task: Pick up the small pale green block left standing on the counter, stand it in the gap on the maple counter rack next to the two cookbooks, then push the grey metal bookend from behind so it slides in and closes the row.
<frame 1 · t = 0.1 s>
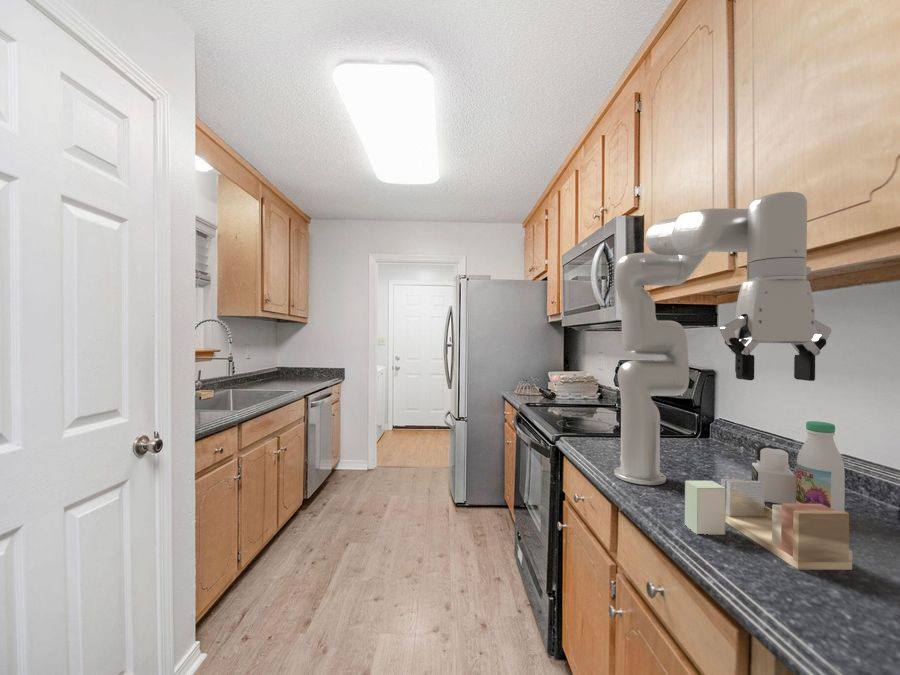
hand: (774, 379, 66), 31 cm above the counter, tool pointing down, fingers open, 9 cm apart
rack: (767, 534, 80), on the counter
bookend: (738, 494, 87), point 5 cm above the counter, slide at 0.0 cm
pale green block: (704, 529, 81), on the counter
milk bottle: (819, 517, 88), on the counter
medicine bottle: (772, 499, 98), on the counter
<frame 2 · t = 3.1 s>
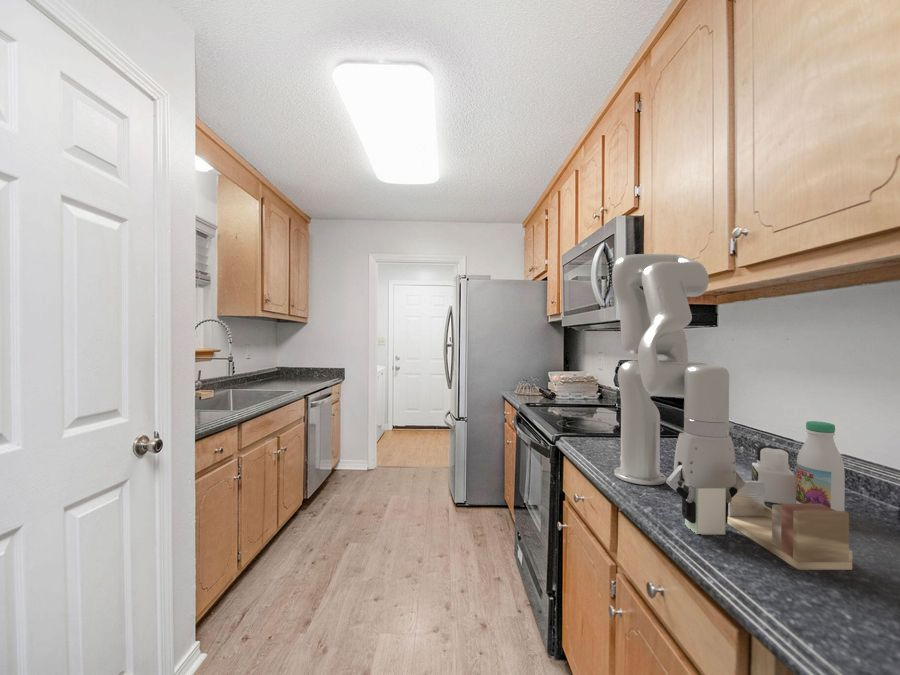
hand: (704, 519, 81), 2 cm above the counter, tool pointing down, fingers closed on pale green block, 5 cm apart
pale green block: (704, 529, 81), on the counter, touching gripper
everything else where it was.
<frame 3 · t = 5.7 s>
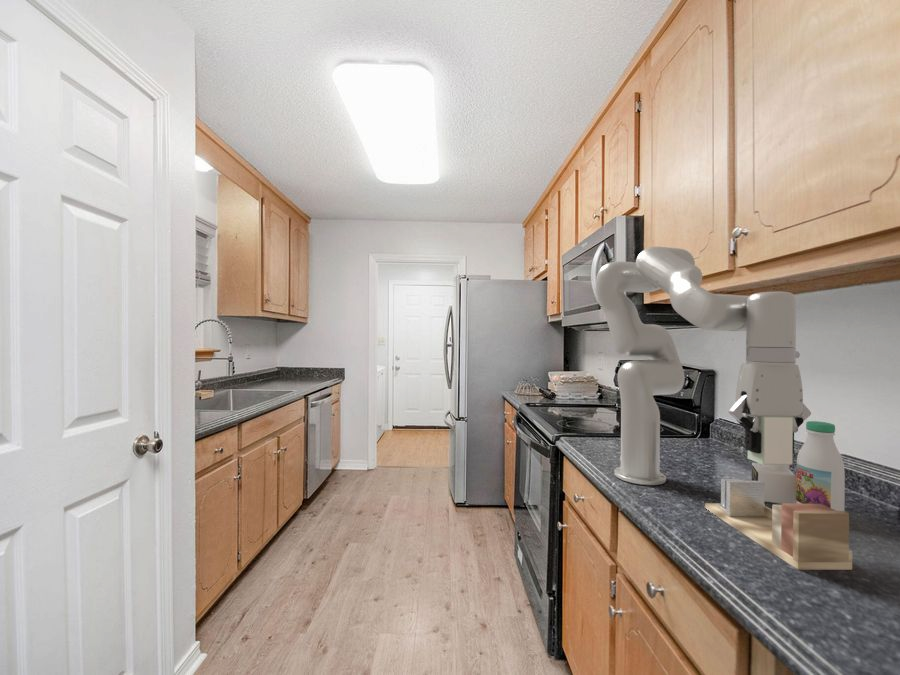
hand: (769, 450, 79), 16 cm above the counter, tool pointing down, fingers closed on pale green block, 5 cm apart
pale green block: (769, 461, 79), point 14 cm above the counter, touching gripper
everything else where it was.
when the fingers open (5 cm above the counter, at t = 8.1 s): pale green block drops 1 cm, resting on rack.
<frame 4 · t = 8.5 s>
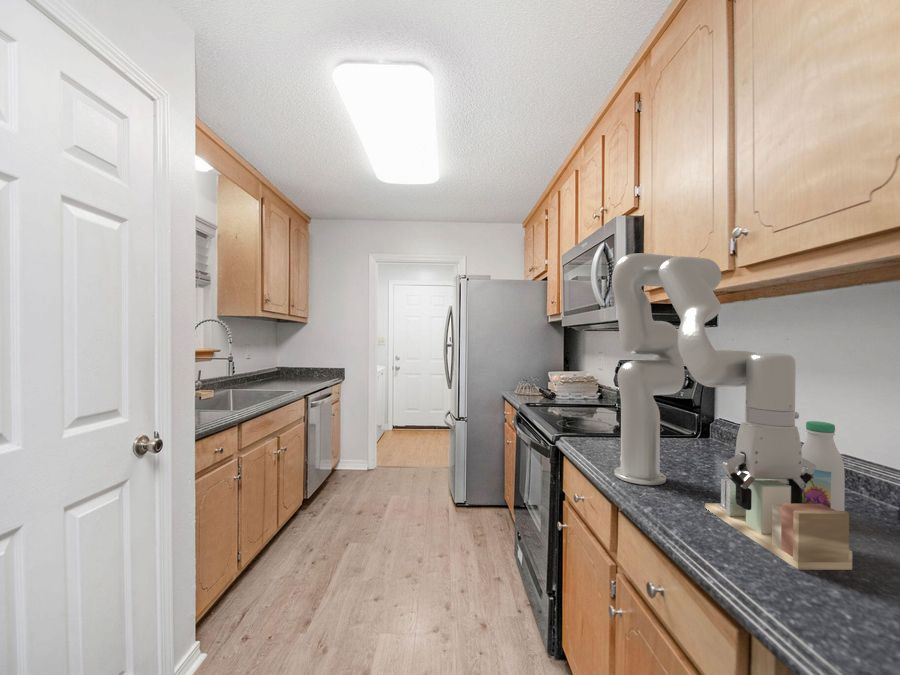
hand: (768, 507, 79), 5 cm above the counter, tool pointing down, fingers open, 9 cm apart
pale green block: (767, 529, 79), point 1 cm above the counter, touching rack
everything else where it was.
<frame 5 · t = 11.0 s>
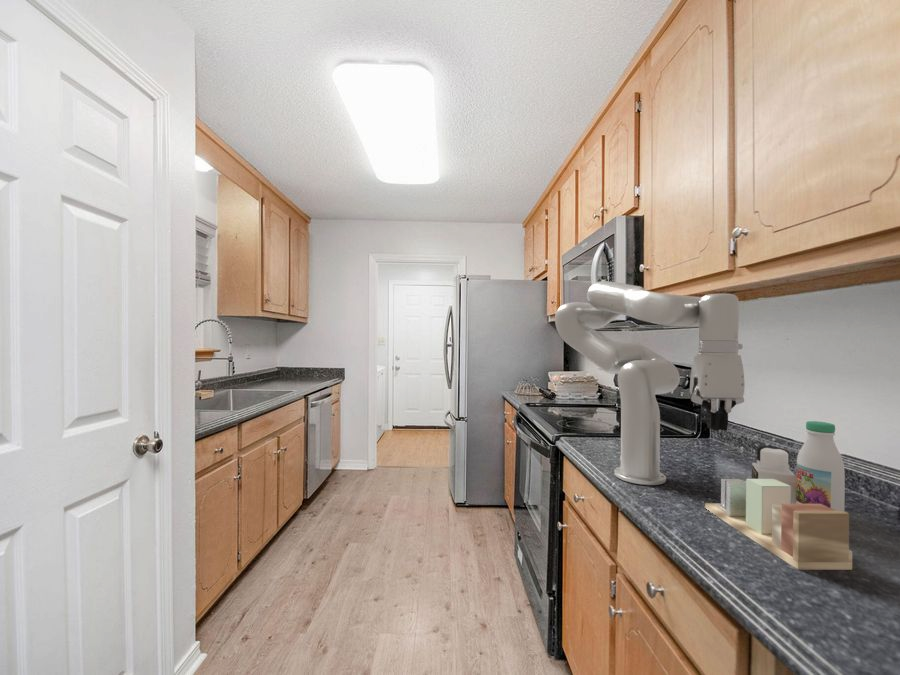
hand: (717, 428, 94), 17 cm above the counter, tool pointing down, fingers closed
nothing on the counter moved.
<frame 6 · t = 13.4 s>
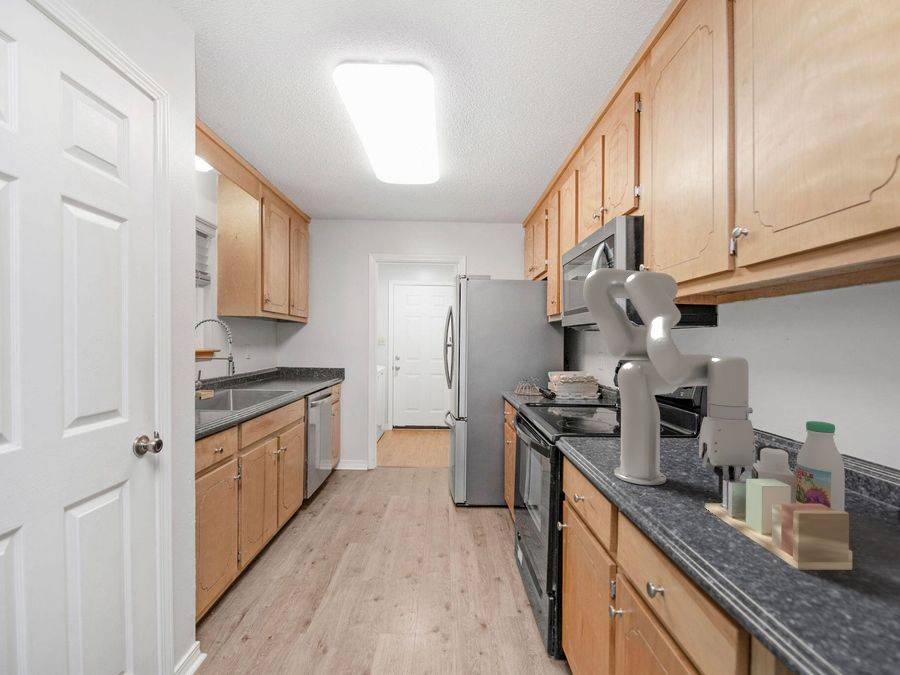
hand: (727, 496, 91), 3 cm above the counter, tool pointing down, fingers closed
bookend: (740, 495, 87), point 5 cm above the counter, slide at 0.6 cm, touching gripper
everything else where it was.
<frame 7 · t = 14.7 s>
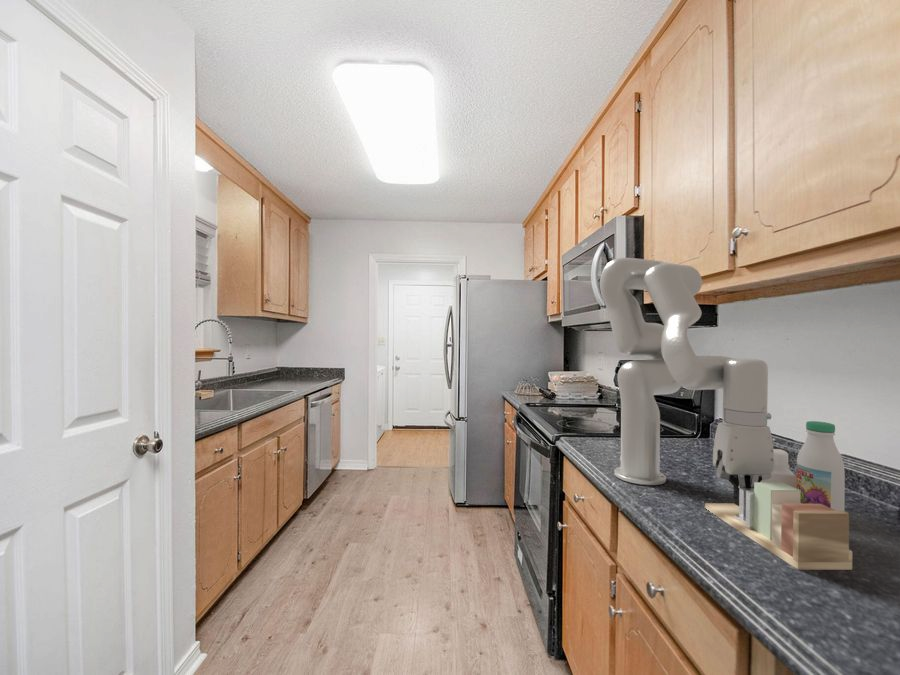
hand: (743, 506, 86), 3 cm above the counter, tool pointing down, fingers closed
bookend: (758, 505, 82), point 5 cm above the counter, slide at 5.5 cm, touching gripper, pale green block
pale green block: (776, 534, 77), point 1 cm above the counter, touching bookend, rack
everything else where it was.
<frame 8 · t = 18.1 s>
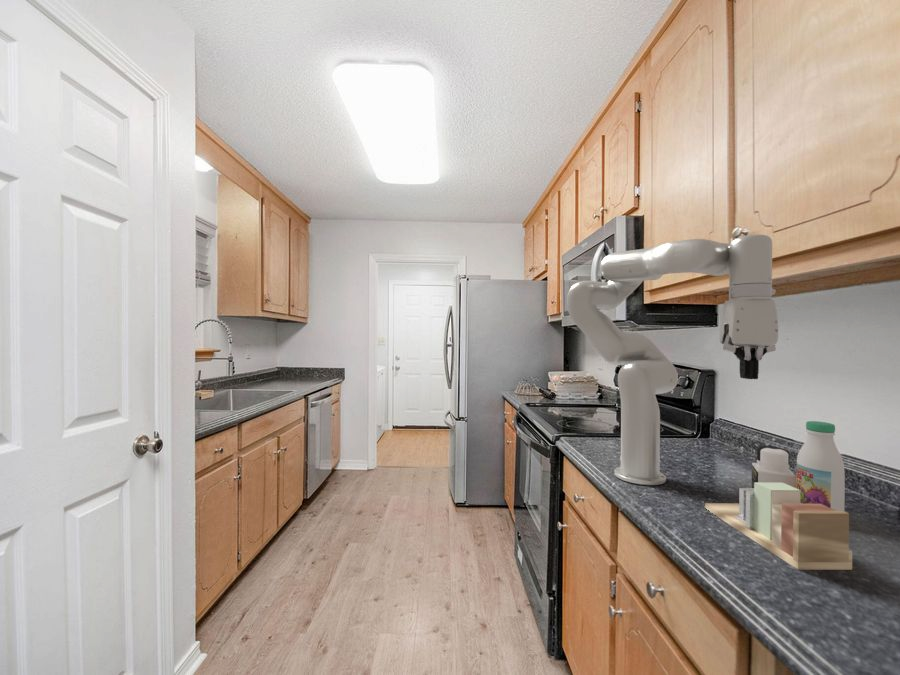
hand: (748, 378, 90), 29 cm above the counter, tool pointing down, fingers closed
bookend: (758, 505, 82), point 5 cm above the counter, slide at 5.5 cm, touching pale green block
everything else where it was.
at the end: pale green block inside the target area (1.0 cm from its centre), point 1.2 cm above the counter; pale green block tilted 0°; bookend slide at 5.5 cm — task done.
